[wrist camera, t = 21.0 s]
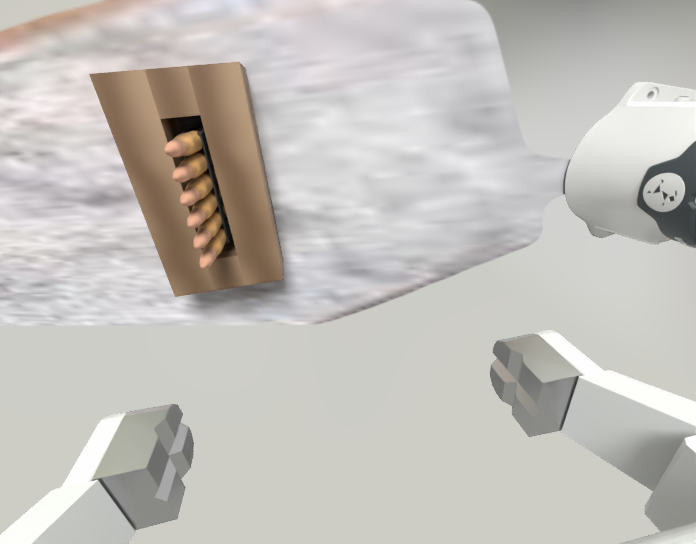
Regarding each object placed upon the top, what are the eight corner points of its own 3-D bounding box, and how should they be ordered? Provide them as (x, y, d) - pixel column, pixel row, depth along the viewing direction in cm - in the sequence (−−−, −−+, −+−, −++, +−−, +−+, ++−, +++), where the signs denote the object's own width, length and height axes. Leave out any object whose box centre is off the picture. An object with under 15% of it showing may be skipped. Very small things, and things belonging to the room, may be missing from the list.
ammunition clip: (235, 228, 37) (217, 277, 27) (219, 230, 37) (193, 280, 27) (211, 126, 33) (177, 135, 22) (191, 127, 32) (147, 138, 22)
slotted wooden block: (245, 68, 31) (238, 61, 27) (283, 260, 40) (283, 279, 36) (117, 78, 30) (89, 74, 25) (187, 275, 39) (175, 296, 34)
